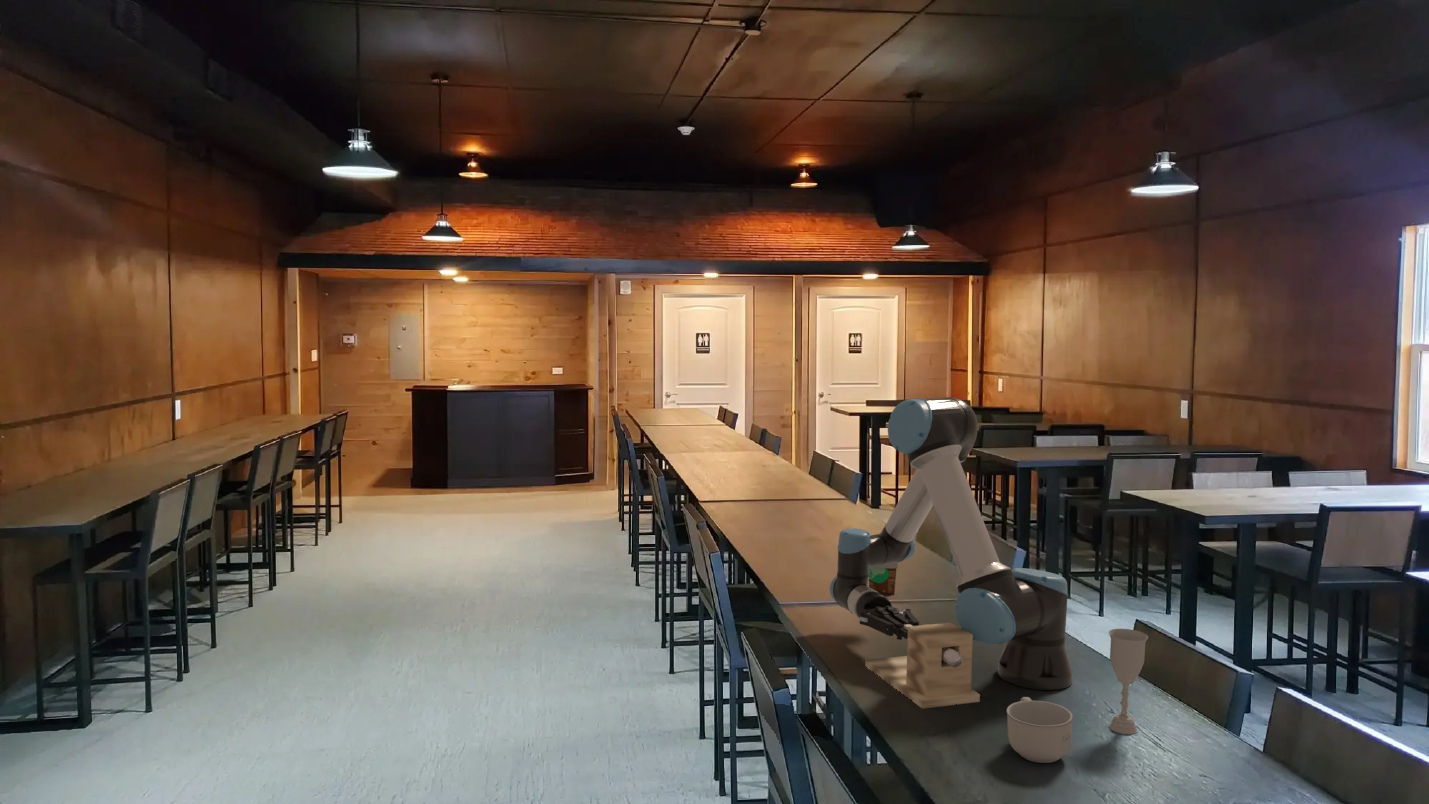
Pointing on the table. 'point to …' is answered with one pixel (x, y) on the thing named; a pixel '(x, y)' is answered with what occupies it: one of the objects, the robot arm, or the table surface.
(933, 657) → the bearing stand
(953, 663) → the shaft
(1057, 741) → the teacup
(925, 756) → the table surface
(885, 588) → the food container
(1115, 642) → the chalice
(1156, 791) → the table surface
